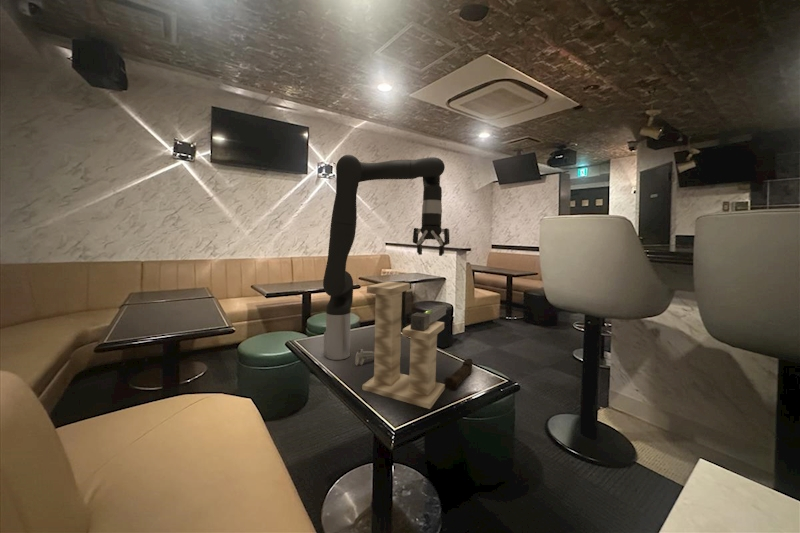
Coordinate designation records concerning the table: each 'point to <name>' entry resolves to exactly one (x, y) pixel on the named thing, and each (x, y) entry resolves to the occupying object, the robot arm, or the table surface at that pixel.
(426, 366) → the stand
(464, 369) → the dark brown bar
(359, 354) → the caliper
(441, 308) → the spirit level
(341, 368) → the table surface
